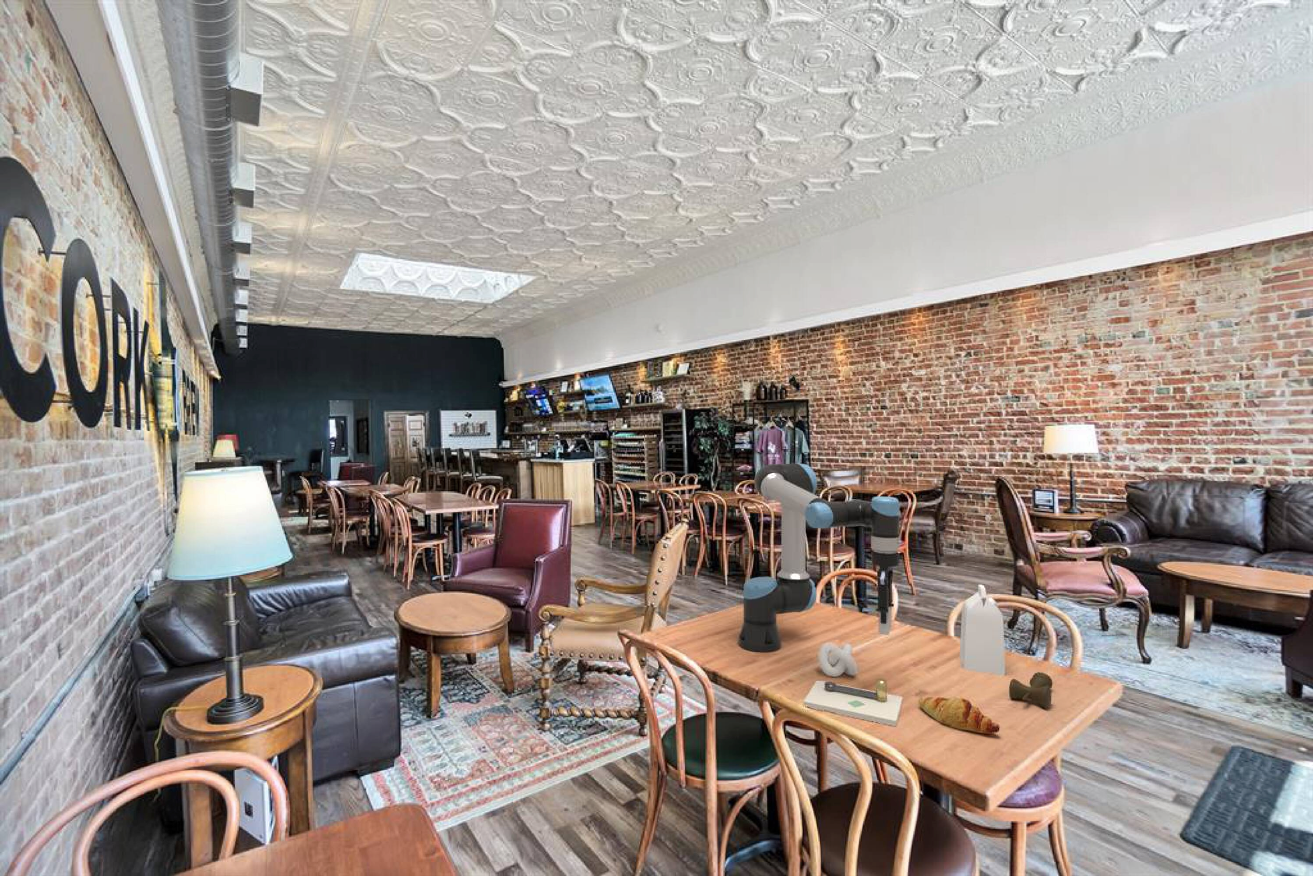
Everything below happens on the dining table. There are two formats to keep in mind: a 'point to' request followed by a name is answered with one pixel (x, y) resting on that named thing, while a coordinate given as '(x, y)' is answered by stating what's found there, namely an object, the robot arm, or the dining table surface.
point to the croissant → (958, 714)
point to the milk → (982, 635)
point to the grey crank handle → (879, 694)
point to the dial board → (855, 704)
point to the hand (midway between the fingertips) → (884, 631)
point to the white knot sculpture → (837, 660)
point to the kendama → (1033, 689)
